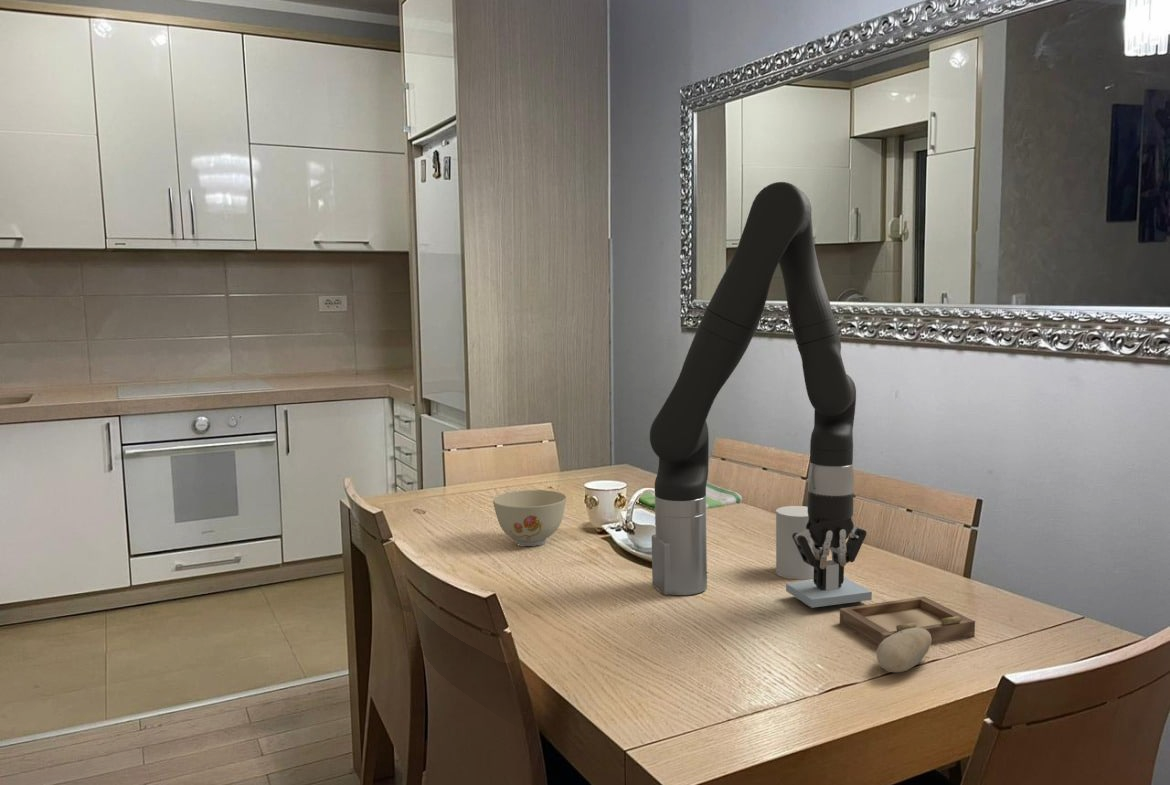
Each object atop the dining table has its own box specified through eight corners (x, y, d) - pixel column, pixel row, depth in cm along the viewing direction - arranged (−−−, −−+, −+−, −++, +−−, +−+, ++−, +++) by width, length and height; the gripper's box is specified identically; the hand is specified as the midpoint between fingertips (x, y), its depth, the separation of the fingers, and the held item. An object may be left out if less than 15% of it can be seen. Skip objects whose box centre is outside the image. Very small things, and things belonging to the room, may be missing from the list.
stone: (864, 657, 123) (886, 608, 133) (882, 695, 124) (903, 644, 133) (903, 654, 120) (923, 603, 129) (922, 693, 121) (941, 640, 130)
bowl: (481, 549, 190) (479, 504, 188) (514, 530, 204) (513, 488, 203) (549, 556, 184) (547, 509, 182) (578, 536, 198) (577, 492, 197)
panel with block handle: (811, 607, 147) (812, 573, 147) (785, 591, 155) (786, 558, 155) (871, 599, 151) (872, 566, 150) (843, 583, 159) (844, 552, 158)
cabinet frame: (885, 651, 132) (885, 629, 131) (839, 622, 143) (839, 602, 143) (974, 636, 136) (975, 615, 136) (923, 610, 148) (924, 590, 147)
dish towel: (744, 504, 225) (744, 491, 225) (668, 517, 214) (667, 503, 214) (704, 492, 240) (704, 479, 240) (631, 503, 229) (631, 490, 229)
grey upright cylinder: (821, 580, 164) (821, 517, 163) (776, 578, 166) (776, 515, 165) (818, 566, 172) (819, 506, 171) (776, 565, 174) (775, 505, 172)
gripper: (805, 496, 145) (804, 599, 147) (879, 490, 149) (876, 589, 151) (783, 487, 152) (781, 584, 154) (853, 481, 156) (851, 576, 158)
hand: (828, 586), depth 153 cm, fingers closed on panel with block handle, 2 cm apart
